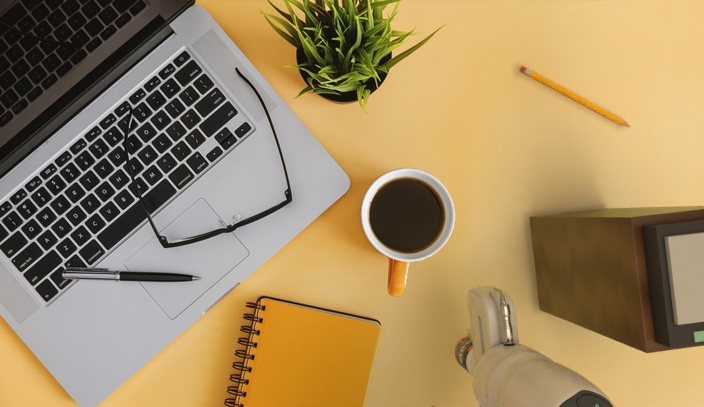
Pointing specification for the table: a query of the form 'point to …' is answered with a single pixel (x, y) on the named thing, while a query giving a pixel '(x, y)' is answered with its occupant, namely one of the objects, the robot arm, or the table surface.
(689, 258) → the scale
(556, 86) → the pencil
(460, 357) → the pill bottle
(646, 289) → the riser
